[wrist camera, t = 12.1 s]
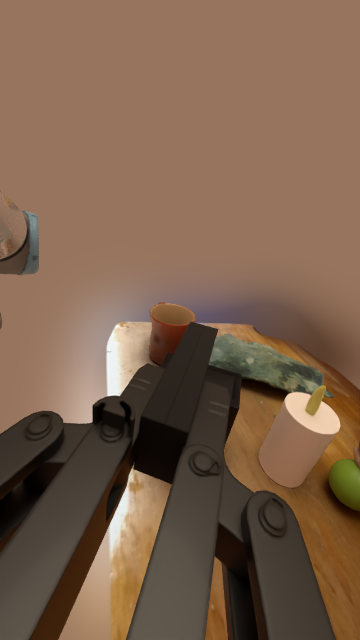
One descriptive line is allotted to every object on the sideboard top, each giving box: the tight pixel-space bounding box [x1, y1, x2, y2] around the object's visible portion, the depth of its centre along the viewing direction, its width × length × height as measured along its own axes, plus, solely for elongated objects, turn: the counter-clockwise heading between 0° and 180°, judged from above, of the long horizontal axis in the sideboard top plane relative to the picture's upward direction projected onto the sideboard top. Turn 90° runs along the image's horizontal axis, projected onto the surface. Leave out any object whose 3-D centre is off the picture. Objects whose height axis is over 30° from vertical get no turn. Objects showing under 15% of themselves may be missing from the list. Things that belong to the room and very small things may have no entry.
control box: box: [159, 352, 242, 444], centre depth 33 cm, size 10×6×12 cm, turn 75°
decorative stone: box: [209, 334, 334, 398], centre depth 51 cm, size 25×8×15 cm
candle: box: [259, 386, 340, 488], centre depth 32 cm, size 6×6×15 cm
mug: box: [149, 303, 196, 365], centre depth 51 cm, size 12×9×10 cm
